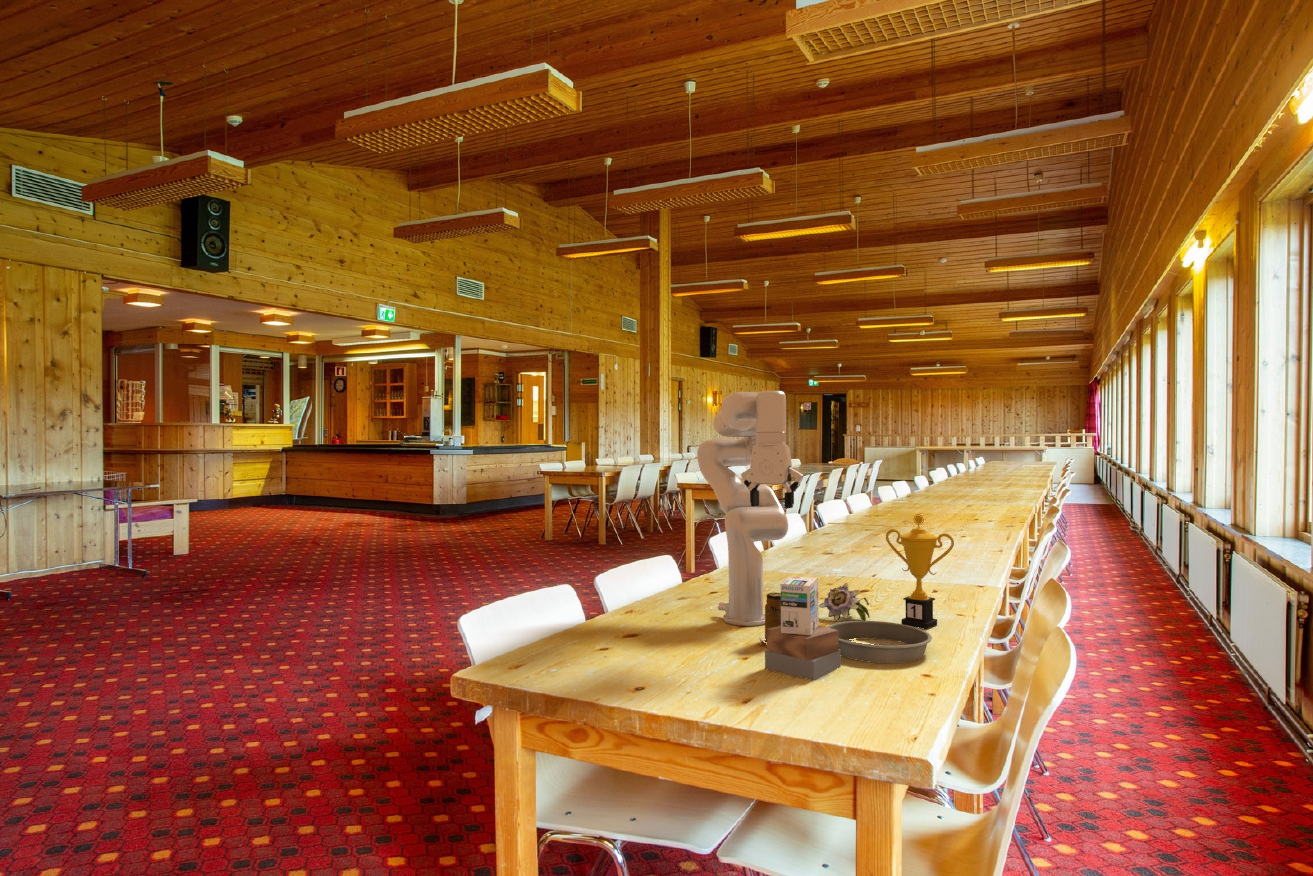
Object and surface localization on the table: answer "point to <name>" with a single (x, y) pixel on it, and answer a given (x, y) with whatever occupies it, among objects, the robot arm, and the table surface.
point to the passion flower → (844, 603)
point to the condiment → (772, 612)
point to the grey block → (802, 664)
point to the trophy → (919, 571)
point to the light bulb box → (799, 605)
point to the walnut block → (803, 642)
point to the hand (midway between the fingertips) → (771, 507)
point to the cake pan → (886, 632)
